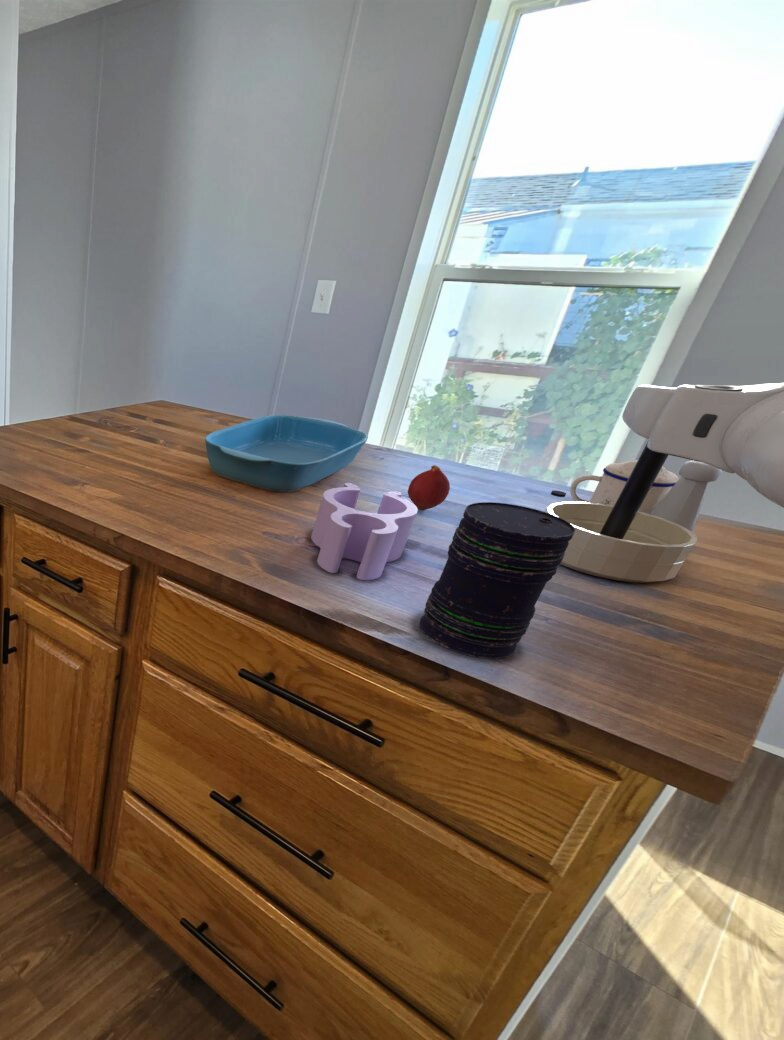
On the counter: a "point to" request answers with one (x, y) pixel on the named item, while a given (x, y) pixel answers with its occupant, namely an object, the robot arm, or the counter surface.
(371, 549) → the clip
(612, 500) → the teacup with lid
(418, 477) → the onion
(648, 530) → the bowl
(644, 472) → the black tall cylinder post
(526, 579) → the oil drum
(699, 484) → the salt shaker
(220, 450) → the casserole dish
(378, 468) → the counter surface
